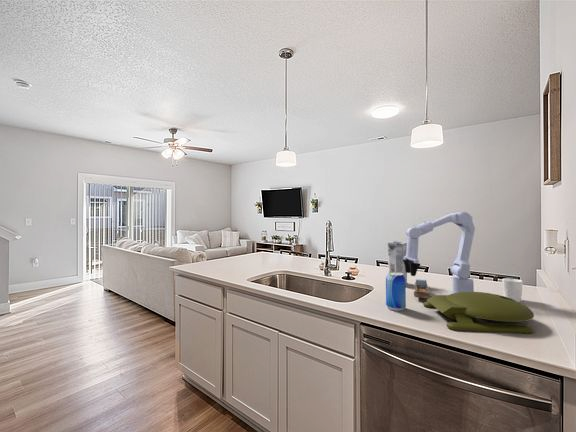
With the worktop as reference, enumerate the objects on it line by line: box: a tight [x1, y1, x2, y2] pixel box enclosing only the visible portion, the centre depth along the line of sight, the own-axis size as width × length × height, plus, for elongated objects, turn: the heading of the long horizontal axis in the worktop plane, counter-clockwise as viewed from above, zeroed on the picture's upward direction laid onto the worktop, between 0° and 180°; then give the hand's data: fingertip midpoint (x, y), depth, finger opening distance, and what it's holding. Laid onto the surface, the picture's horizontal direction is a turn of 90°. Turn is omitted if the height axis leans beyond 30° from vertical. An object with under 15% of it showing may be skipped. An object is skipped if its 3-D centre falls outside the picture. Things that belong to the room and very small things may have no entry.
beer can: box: [385, 272, 407, 312], centre depth 128 cm, size 8×8×16 cm
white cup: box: [501, 277, 524, 303], centre depth 139 cm, size 8×8×10 cm
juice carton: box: [387, 240, 408, 284], centre depth 174 cm, size 9×10×27 cm
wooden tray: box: [413, 281, 430, 299], centre depth 147 cm, size 7×21×5 cm, turn 155°
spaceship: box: [422, 291, 535, 335], centre depth 115 cm, size 35×31×10 cm
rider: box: [415, 278, 428, 288], centre depth 152 cm, size 5×4×4 cm
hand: (410, 274), depth 152 cm, fingers open, 7 cm apart
